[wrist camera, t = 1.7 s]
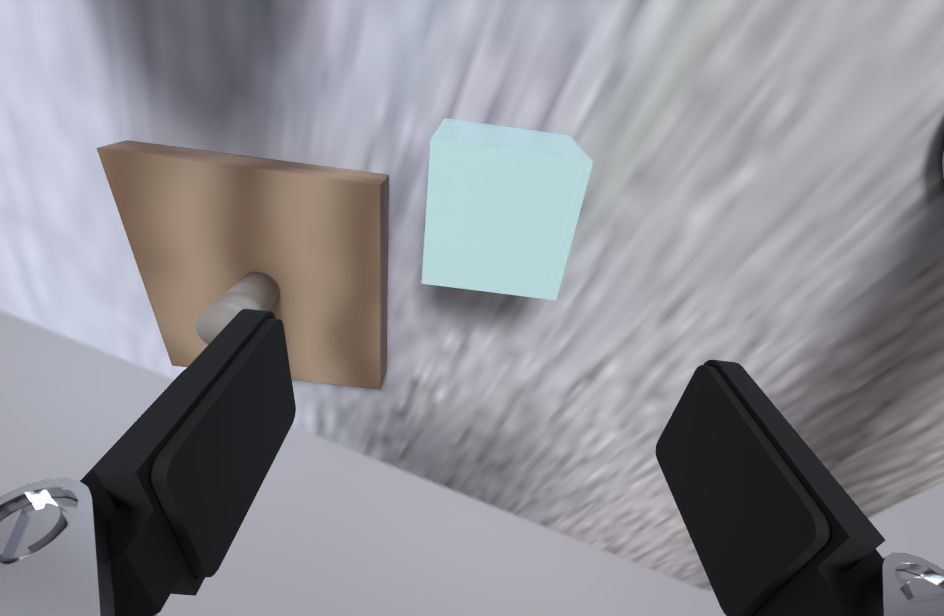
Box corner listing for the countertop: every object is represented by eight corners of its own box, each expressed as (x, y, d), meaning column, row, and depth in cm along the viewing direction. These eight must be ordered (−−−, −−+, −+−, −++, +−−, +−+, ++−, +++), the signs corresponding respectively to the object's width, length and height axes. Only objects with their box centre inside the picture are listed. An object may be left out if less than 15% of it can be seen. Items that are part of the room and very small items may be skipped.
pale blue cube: (569, 135, 21) (593, 161, 16) (543, 249, 24) (556, 300, 20) (444, 118, 21) (430, 139, 16) (435, 236, 24) (421, 283, 19)
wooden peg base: (388, 174, 22) (355, 215, 17) (386, 370, 30) (362, 442, 24) (127, 140, 22) (5, 170, 17) (190, 347, 29) (121, 415, 24)
